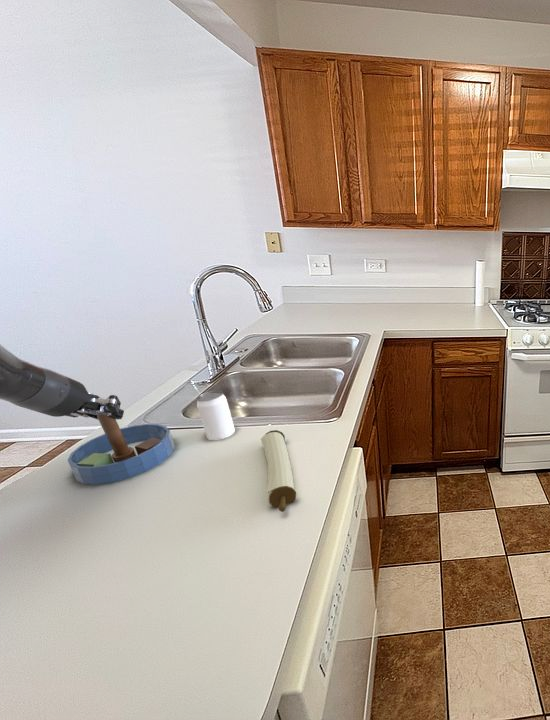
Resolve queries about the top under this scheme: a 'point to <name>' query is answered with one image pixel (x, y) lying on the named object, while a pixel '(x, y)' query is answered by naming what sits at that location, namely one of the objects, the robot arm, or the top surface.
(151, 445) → the block walnut
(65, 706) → the top surface
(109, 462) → the block sage
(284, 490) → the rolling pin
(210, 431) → the can
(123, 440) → the brown wooden rod
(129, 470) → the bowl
